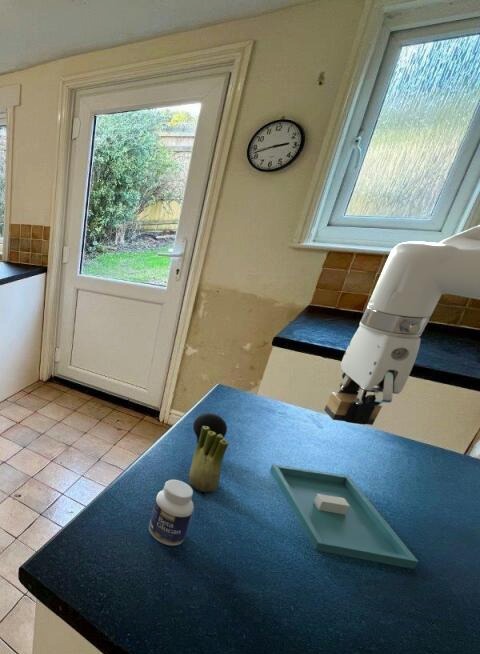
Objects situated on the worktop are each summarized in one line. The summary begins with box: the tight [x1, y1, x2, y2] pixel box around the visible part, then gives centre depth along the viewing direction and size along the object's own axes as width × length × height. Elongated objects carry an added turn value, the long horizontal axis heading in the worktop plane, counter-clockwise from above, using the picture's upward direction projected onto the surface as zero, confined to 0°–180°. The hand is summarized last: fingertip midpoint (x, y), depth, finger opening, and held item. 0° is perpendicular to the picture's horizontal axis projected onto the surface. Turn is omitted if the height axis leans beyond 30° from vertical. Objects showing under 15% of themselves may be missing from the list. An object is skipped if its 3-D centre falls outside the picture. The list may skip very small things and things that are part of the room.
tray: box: [269, 463, 420, 570], centre depth 71 cm, size 13×20×2 cm, turn 164°
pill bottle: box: [148, 479, 195, 547], centre depth 66 cm, size 5×5×10 cm
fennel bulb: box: [188, 426, 229, 493], centre depth 76 cm, size 6×5×12 cm
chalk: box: [314, 494, 350, 515], centre depth 72 cm, size 4×2×2 cm, turn 74°
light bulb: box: [192, 412, 228, 444], centre depth 84 cm, size 6×6×10 cm
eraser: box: [324, 391, 383, 426], centre depth 75 cm, size 6×4×4 cm, turn 73°
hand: (348, 415), depth 76 cm, fingers closed on eraser, 3 cm apart
